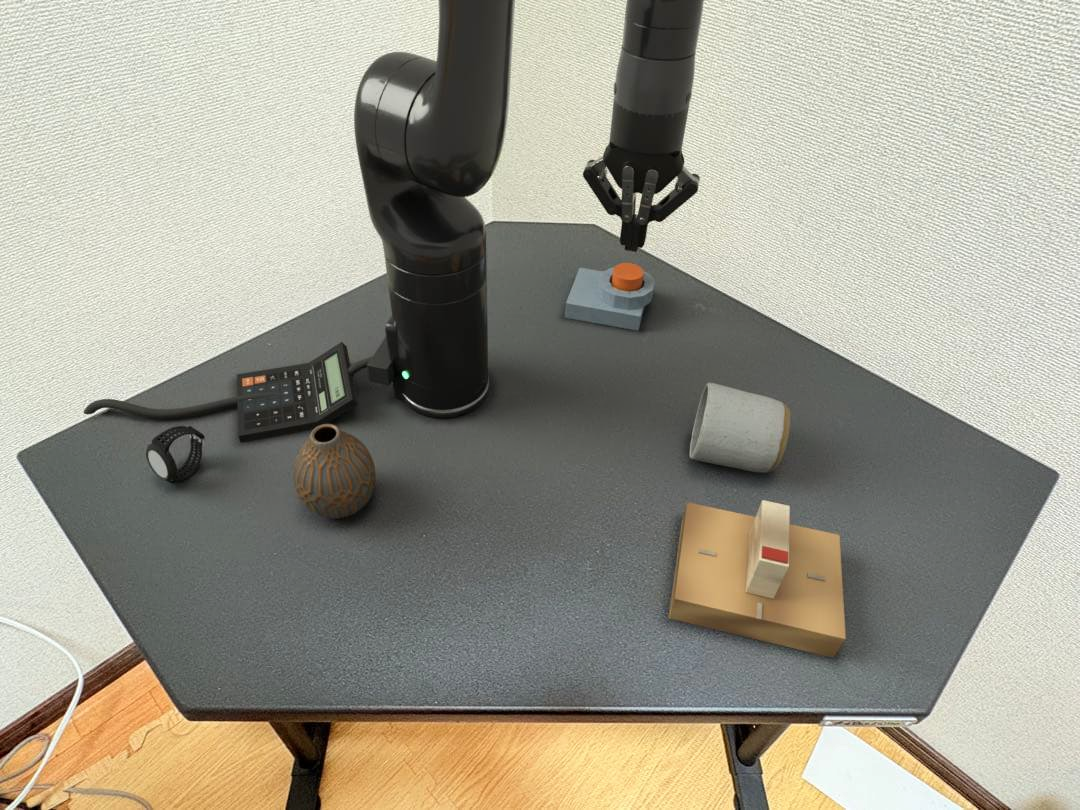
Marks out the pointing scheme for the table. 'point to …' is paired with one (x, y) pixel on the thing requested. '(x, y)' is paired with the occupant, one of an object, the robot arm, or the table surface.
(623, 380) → the table surface
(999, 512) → the table surface
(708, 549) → the knob base
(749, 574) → the cream red striped block
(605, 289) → the button block
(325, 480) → the vase
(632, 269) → the button
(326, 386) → the calculator
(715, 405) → the ceramic mug
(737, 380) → the table surface
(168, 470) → the smartwatch
